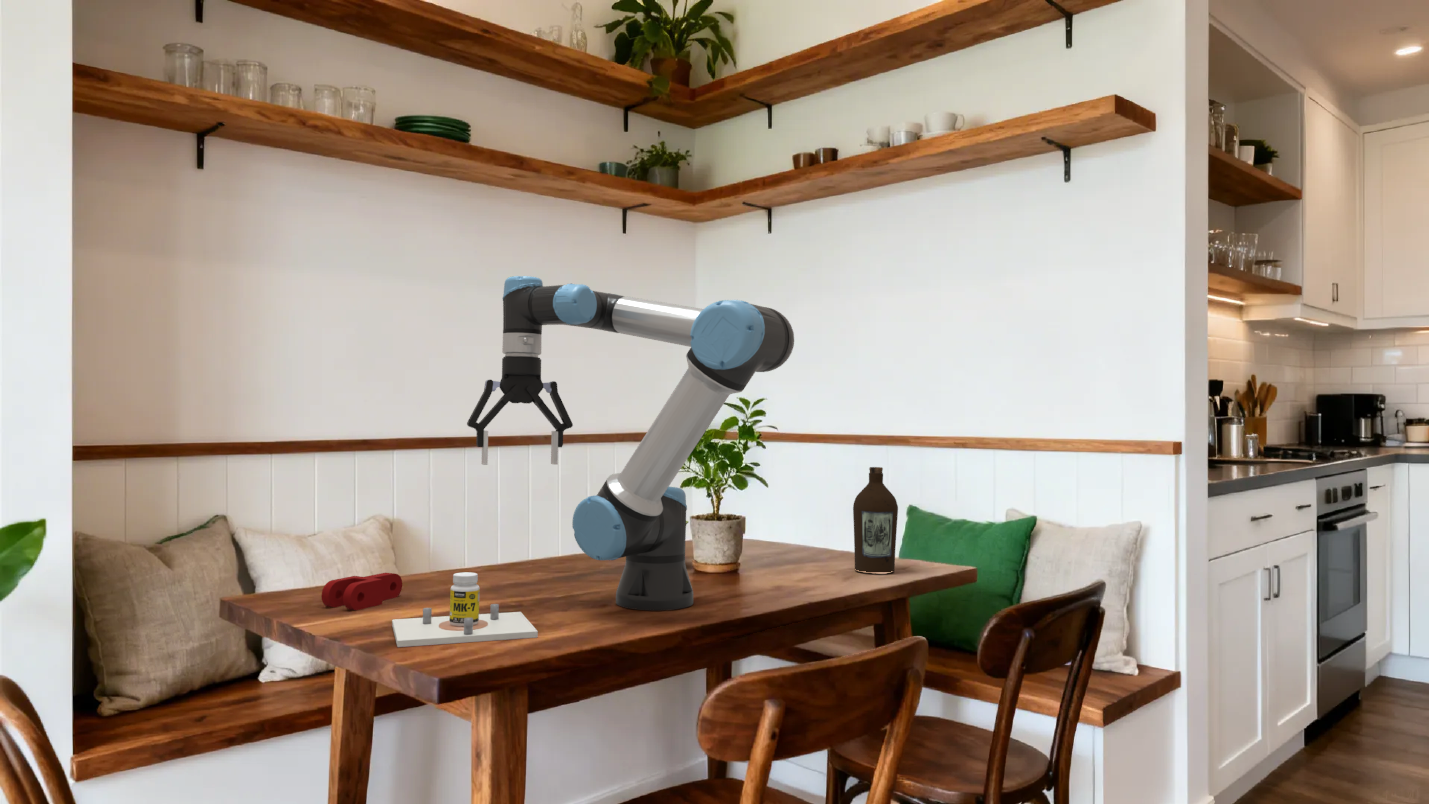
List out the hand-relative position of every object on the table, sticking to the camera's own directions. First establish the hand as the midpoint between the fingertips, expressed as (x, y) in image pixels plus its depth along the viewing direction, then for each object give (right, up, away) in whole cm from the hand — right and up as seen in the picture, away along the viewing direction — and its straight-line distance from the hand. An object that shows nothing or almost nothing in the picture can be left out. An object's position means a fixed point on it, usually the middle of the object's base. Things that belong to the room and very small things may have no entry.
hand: (519, 464), depth 187 cm
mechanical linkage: (-28, -27, -4) cm, 39 cm away
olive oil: (+76, -29, +42) cm, 92 cm away
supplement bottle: (-4, -25, -26) cm, 37 cm away
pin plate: (-4, -26, -26) cm, 38 cm away
